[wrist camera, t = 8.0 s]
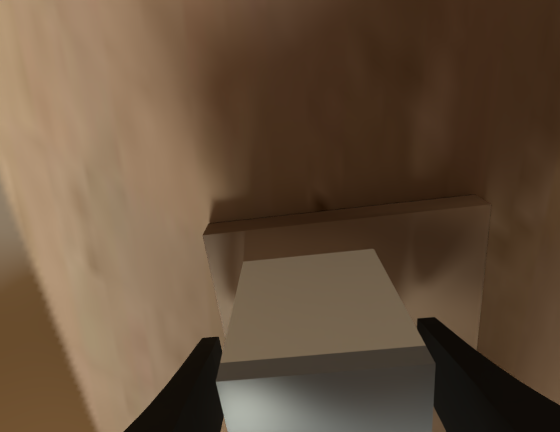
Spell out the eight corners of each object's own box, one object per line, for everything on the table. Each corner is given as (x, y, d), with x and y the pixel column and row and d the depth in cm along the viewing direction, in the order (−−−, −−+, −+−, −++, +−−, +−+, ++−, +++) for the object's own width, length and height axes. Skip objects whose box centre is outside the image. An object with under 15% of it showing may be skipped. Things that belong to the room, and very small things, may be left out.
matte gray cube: (376, 352, 16) (428, 505, 10) (261, 362, 16) (248, 516, 10) (373, 248, 14) (435, 363, 8) (243, 261, 14) (215, 381, 8)
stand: (453, 461, 20) (505, 578, 15) (261, 474, 20) (254, 591, 16) (475, 194, 14) (570, 249, 9) (208, 223, 15) (173, 289, 10)
